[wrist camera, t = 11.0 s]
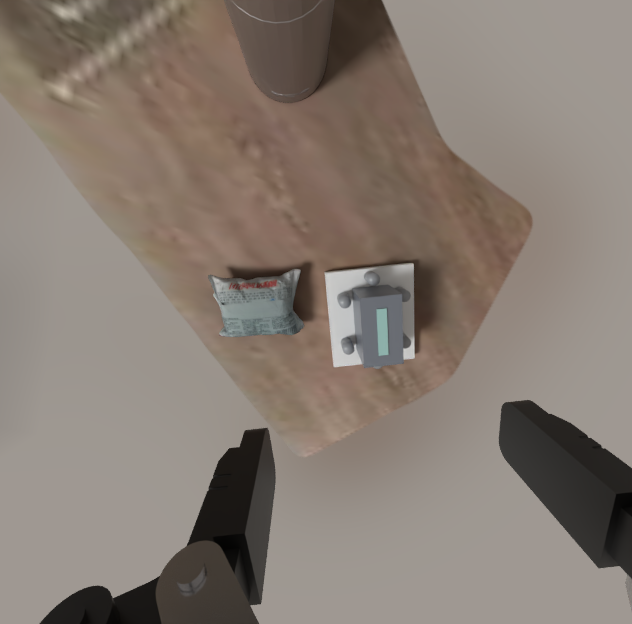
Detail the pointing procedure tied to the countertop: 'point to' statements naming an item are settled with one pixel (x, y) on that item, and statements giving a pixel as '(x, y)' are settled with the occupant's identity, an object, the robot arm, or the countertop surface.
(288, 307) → the packaged food
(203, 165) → the countertop surface
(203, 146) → the countertop surface
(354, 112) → the countertop surface
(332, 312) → the pegged holder plate
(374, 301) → the block
